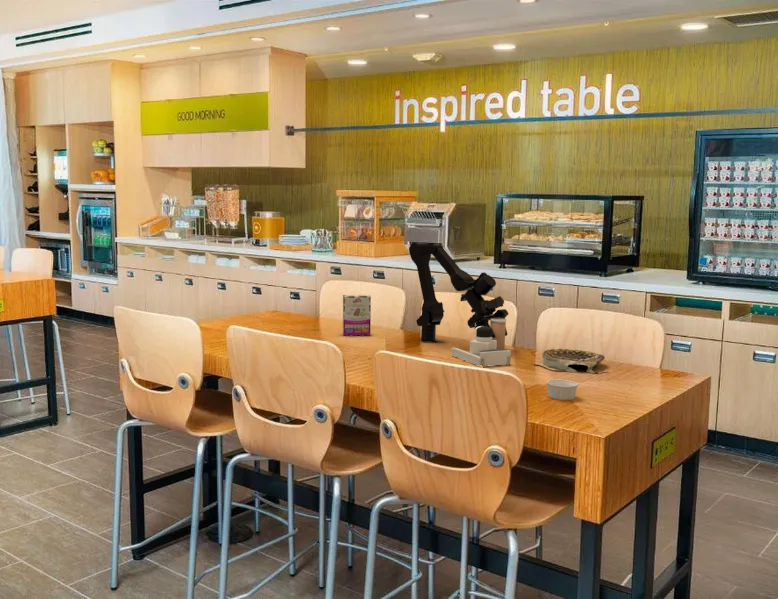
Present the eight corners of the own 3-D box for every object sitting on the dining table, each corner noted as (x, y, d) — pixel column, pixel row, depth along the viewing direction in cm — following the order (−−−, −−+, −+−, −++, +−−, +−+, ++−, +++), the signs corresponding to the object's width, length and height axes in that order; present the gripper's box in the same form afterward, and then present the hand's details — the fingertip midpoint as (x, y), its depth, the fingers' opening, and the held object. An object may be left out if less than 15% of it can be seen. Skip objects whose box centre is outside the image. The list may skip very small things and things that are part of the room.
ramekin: (572, 393, 234) (573, 379, 233) (580, 401, 225) (581, 386, 224) (542, 393, 234) (543, 378, 233) (549, 400, 225) (550, 386, 224)
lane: (451, 355, 284) (451, 342, 284) (479, 353, 289) (480, 340, 289) (480, 367, 266) (481, 352, 266) (510, 364, 271) (510, 350, 271)
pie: (518, 360, 282) (519, 346, 281) (582, 357, 291) (583, 343, 291) (562, 377, 256) (563, 362, 255) (631, 373, 266) (632, 359, 265)
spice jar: (487, 352, 293) (488, 317, 291) (502, 352, 293) (504, 317, 291) (490, 355, 287) (492, 320, 285) (506, 355, 287) (507, 320, 286)
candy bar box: (368, 333, 325) (369, 294, 323) (370, 336, 320) (371, 296, 318) (341, 334, 324) (342, 294, 321) (343, 336, 319) (343, 296, 316)
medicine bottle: (496, 360, 277) (497, 326, 276) (487, 363, 271) (488, 329, 270) (478, 357, 281) (479, 324, 279) (468, 360, 275) (470, 327, 274)
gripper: (474, 291, 283) (498, 325, 277) (505, 287, 296) (528, 320, 290) (457, 310, 289) (480, 344, 283) (487, 306, 303) (510, 338, 297)
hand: (500, 336), depth 288 cm, fingers open, 7 cm apart
